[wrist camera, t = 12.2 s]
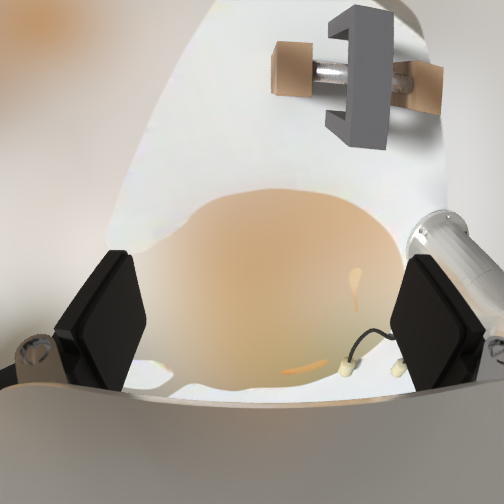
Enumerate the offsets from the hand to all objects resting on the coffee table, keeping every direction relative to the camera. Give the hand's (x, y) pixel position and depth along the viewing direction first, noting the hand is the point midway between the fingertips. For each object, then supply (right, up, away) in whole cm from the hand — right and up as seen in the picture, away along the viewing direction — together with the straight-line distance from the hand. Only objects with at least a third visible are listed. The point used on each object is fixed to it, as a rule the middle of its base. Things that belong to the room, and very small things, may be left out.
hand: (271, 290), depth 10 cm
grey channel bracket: (+10, +22, +21) cm, 32 cm away
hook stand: (+10, +24, +26) cm, 36 cm away
